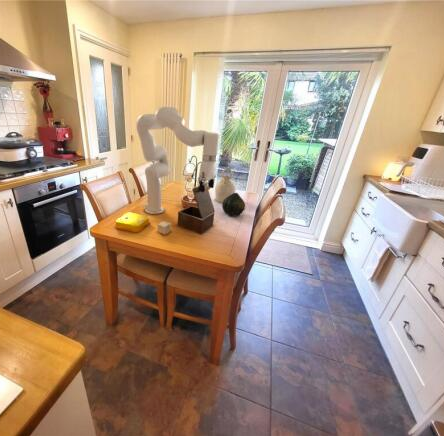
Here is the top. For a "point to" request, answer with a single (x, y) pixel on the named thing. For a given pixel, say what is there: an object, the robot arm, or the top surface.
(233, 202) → the squash
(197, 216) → the chest
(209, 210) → the lid
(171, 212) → the top surface
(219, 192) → the cream vase
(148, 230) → the top surface
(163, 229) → the block
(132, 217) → the element tile
